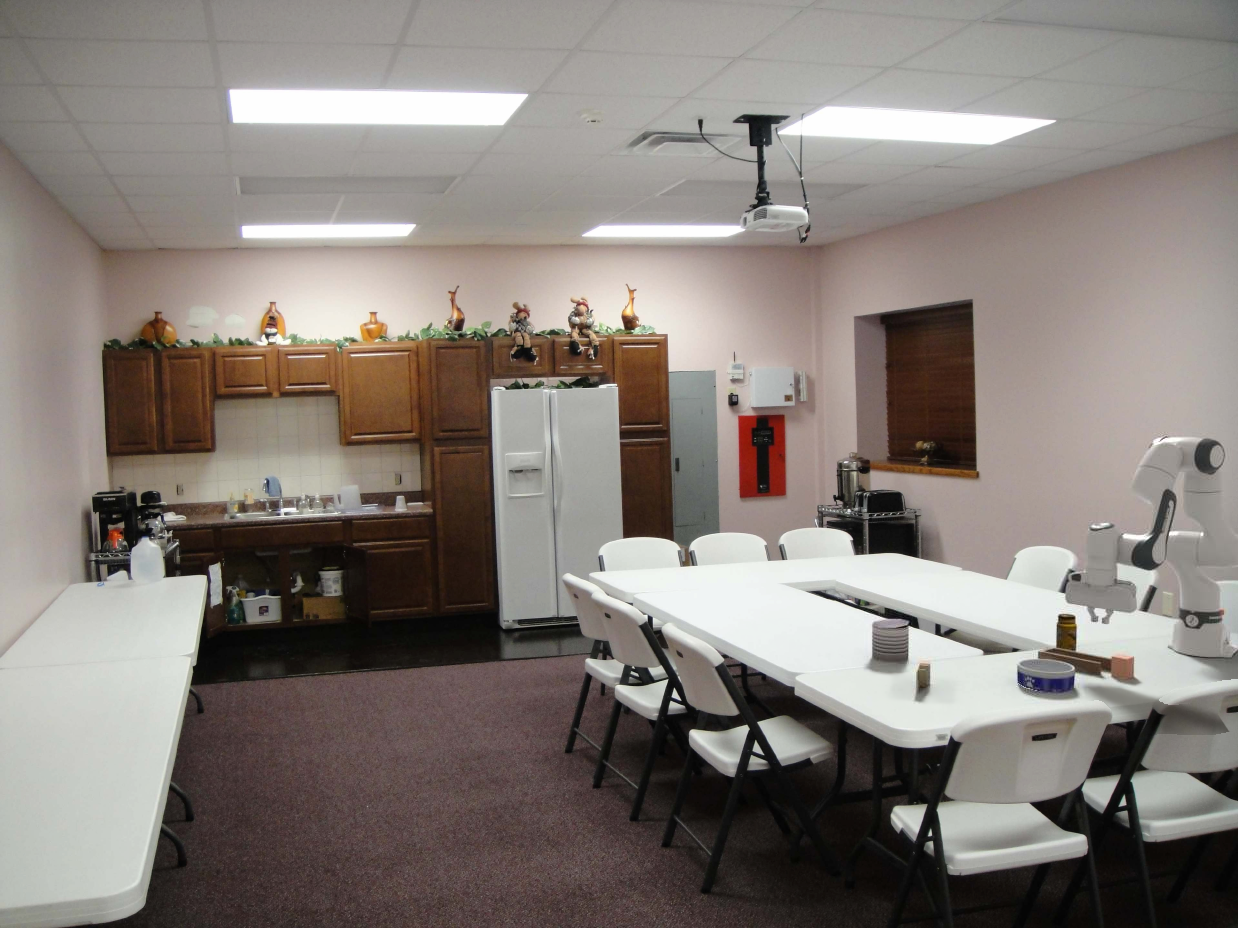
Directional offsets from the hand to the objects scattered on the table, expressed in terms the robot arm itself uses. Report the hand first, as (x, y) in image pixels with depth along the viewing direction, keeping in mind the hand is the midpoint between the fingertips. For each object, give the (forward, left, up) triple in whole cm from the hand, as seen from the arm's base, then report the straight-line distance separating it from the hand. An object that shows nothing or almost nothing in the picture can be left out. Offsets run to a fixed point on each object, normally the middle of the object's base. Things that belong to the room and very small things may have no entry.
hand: (1100, 622), depth 298 cm
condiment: (-15, -19, -15) cm, 28 cm away
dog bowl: (+26, -3, -15) cm, 30 cm away
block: (0, +7, -15) cm, 17 cm away
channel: (0, -7, -15) cm, 17 cm away
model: (+55, -24, -16) cm, 62 cm away
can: (+35, -50, -15) cm, 63 cm away
